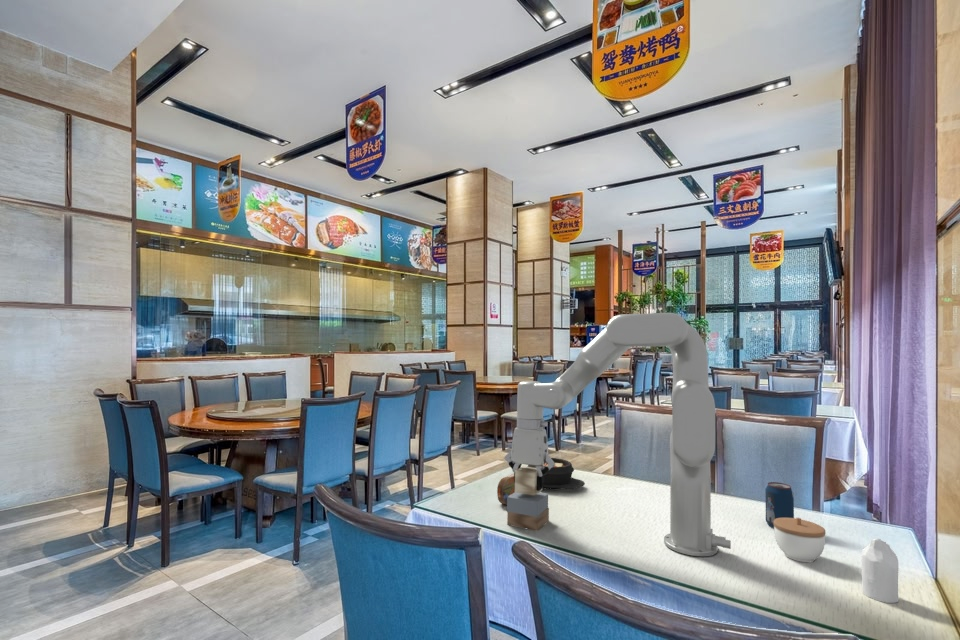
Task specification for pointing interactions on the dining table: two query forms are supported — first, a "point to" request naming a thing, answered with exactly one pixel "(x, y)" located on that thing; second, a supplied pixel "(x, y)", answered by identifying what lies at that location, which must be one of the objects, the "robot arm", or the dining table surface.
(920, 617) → the dining table surface
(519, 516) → the walnut block
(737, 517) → the dining table surface
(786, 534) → the lidded jar
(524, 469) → the maple cube
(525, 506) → the slate block
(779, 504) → the soda can
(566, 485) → the casserole
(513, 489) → the tin
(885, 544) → the white plastic bottle
